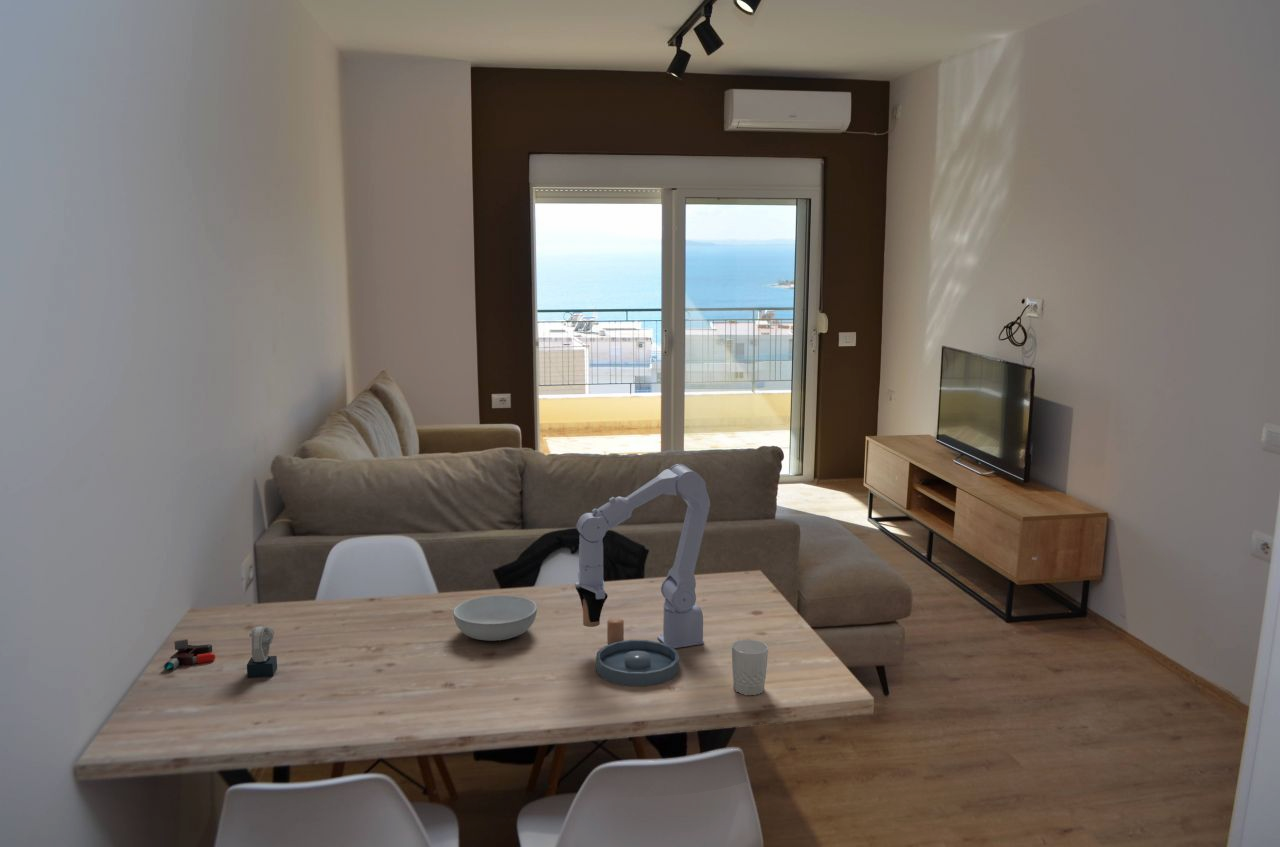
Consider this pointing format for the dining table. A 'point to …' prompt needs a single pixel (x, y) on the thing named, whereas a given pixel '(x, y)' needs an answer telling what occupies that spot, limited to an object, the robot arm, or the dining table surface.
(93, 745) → the dining table surface
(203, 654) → the toy gun
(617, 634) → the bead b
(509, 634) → the serving bowl
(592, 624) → the tan wooden cylinder
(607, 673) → the ring tray
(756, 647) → the grey cup
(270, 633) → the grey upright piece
